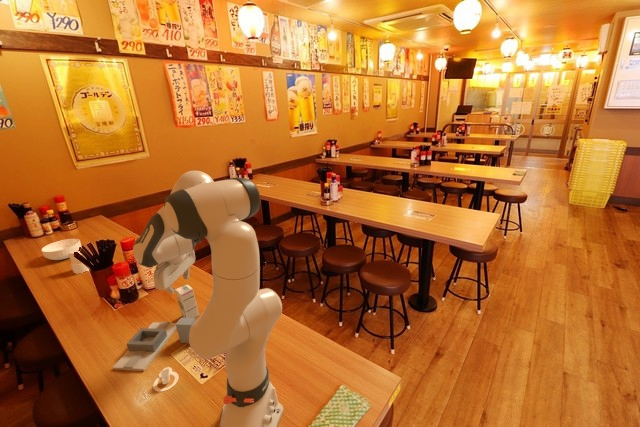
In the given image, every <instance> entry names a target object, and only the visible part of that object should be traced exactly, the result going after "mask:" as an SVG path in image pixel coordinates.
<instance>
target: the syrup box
mask: <svg viewBox="0 0 640 427" xmlns="http://www.w3.org/2000/svg"><path fill="white" fill-rule="evenodd" d="M175 294H176V298H177V300H178V301H177V302H178V306H179V310H180V312H181V313H180V314H181V316H182V317H181V318H195V319H196V318H197V317H200V316H199V315H200V313H199V308H198V304H197V301H196V297H195V293H194V289H193V287H191V286H190V285H189V284H187V283H186V284H184V285H182V286H179V287H178V288H175Z"/></svg>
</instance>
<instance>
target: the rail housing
mask: <svg viewBox="0 0 640 427" xmlns="http://www.w3.org/2000/svg"><path fill="white" fill-rule="evenodd" d="M176 323H177V322H170V321H161V322H157V321H155V322H152V323H150V324H149V326H148V327H147V328H145V327H144V328H143V327H141V328H140V329H139V330H138V331H137V332H136V333H135V334H134V335H133V336H132V337H131V339H130V340H128V342H127V343H126V346H127V351H126V352H125V353H124V354H123V355H122V356H121V357H120V359H119V360H118V361H117V362H116V363H115V364H114V365H113V366H112V370H114V371H115V370H116V371H134V372H145V371H146V369H148V367H149V366H150V364H151V363H152V362H153V360H154V359H155V358H156V357H157V355H158V354H159V353H160V351H161V350H162V348H163V347H164V346H165V344H166V343H167V342H168V340H169V339H170V338H171V337H172V336H173V334H174V333H175V331H176V330H177V327H176Z"/></svg>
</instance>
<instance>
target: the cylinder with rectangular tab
mask: <svg viewBox="0 0 640 427" xmlns="http://www.w3.org/2000/svg"><path fill="white" fill-rule="evenodd" d="M80 251H81V250H80ZM80 251H71V252H69V253H68V254H69V259H70V266H71V267H70V268H71V270H72V272H73V274H74V273H76V274H75V275H79V274H78V273H82V274H84V273H83V272H85V271H88V272H90V271H89V269H88V268H87V267H86V266H85V265H84V264H83V263H81V262H80V261H79V260H77V259H76V258H75V257H74V255H73V254H74V252H78V253H79V254H80V255H82V254H81V253H80Z"/></svg>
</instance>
